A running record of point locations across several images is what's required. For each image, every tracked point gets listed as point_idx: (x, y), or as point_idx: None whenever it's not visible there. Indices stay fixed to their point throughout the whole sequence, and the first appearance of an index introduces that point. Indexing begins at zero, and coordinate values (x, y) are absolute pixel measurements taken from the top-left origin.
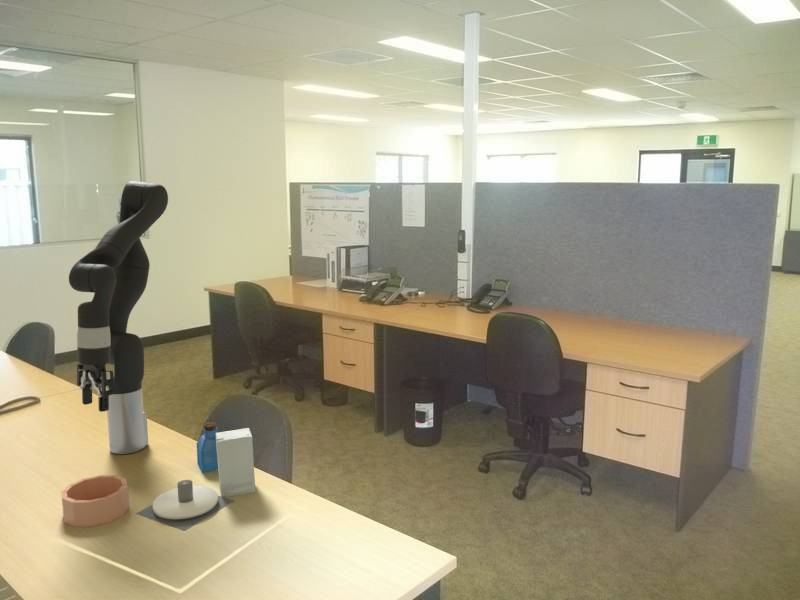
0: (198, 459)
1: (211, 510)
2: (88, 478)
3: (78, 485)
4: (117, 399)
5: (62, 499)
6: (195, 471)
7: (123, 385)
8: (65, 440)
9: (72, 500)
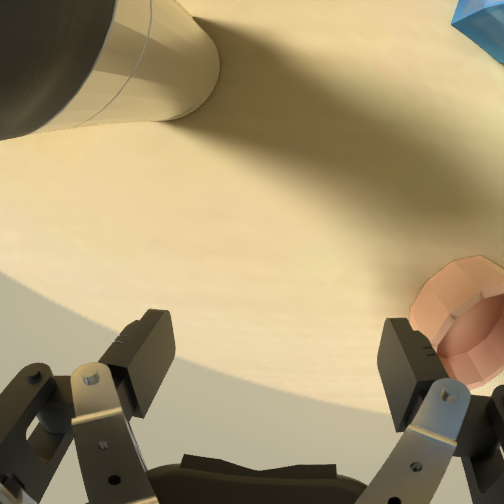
0: (480, 31)
1: None
2: (437, 337)
3: None
4: (99, 92)
5: None
6: (475, 53)
7: (66, 39)
8: (23, 180)
9: (477, 384)
